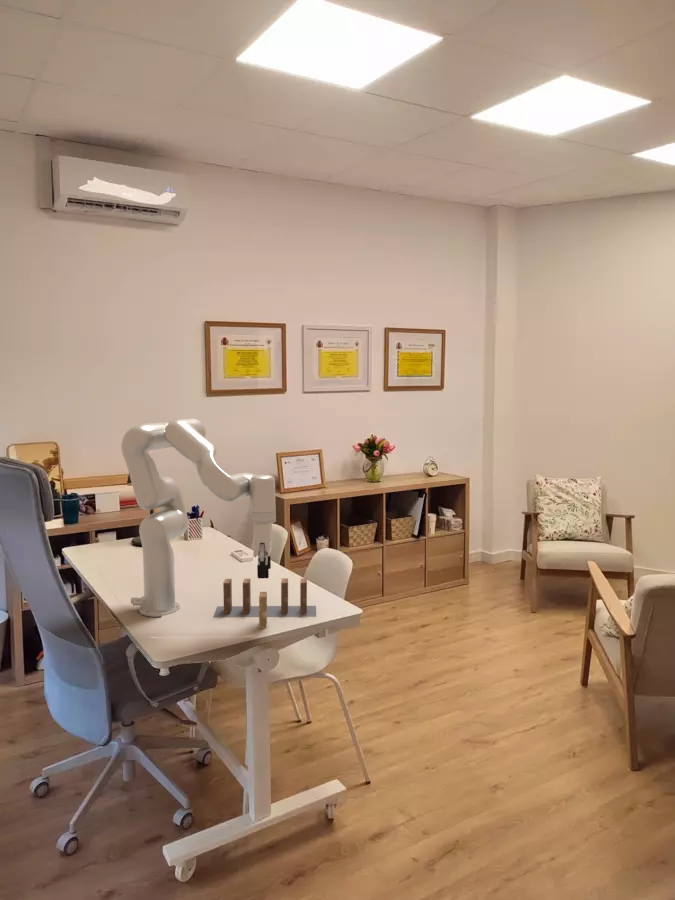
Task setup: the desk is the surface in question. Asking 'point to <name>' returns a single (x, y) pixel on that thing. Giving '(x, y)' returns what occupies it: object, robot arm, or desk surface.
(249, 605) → the domino
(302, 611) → the domino
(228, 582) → the domino
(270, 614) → the mat
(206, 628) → the desk surface
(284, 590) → the domino
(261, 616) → the domino
